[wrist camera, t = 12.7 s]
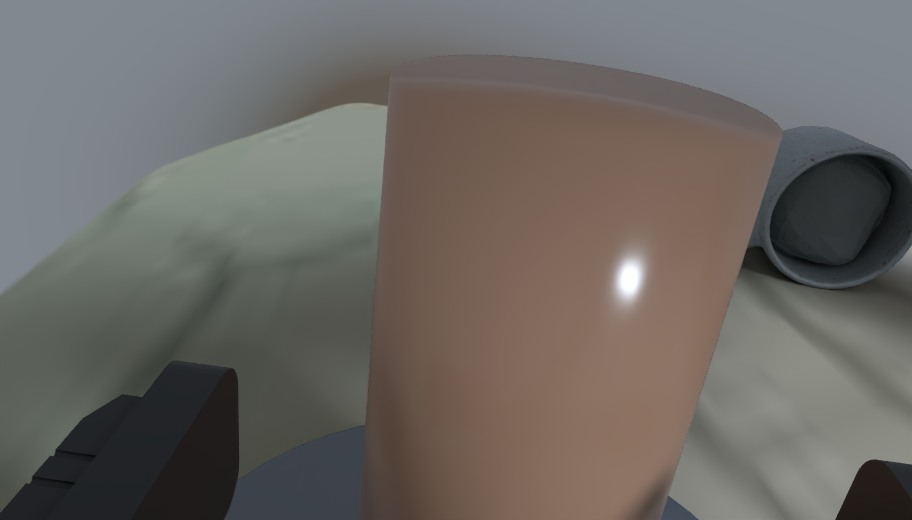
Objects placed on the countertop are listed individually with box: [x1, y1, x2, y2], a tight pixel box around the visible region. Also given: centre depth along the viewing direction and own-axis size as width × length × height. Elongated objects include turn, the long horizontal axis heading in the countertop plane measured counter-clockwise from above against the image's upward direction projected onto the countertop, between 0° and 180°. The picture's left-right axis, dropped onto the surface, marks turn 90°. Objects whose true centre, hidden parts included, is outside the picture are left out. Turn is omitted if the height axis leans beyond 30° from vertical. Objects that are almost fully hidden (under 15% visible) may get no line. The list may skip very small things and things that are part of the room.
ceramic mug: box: [747, 126, 912, 289], centre depth 40 cm, size 11×8×8 cm
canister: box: [358, 55, 783, 520], centre depth 13 cm, size 6×6×12 cm
